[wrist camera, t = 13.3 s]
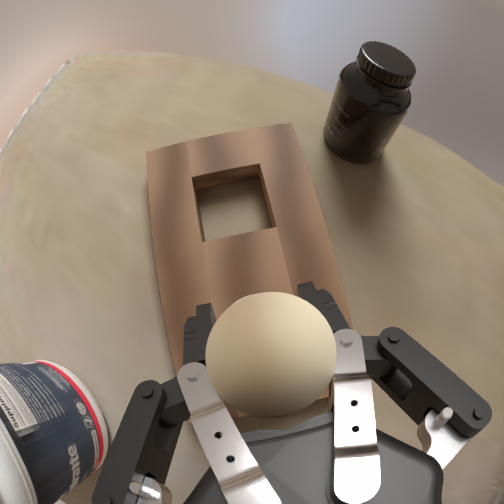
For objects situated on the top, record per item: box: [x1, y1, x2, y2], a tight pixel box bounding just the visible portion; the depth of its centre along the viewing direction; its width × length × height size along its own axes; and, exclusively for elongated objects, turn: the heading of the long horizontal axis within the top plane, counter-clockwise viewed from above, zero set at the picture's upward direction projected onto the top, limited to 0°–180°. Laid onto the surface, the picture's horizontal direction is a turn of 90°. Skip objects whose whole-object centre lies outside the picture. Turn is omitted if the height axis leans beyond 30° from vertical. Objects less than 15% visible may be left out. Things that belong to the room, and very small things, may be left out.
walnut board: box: [146, 123, 353, 424], centre depth 23 cm, size 14×24×3 cm, turn 12°
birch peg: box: [205, 292, 337, 418], centre depth 13 cm, size 4×4×9 cm
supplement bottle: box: [324, 41, 416, 163], centre depth 22 cm, size 7×7×12 cm
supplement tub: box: [0, 360, 108, 504], centre depth 12 cm, size 13×13×18 cm
